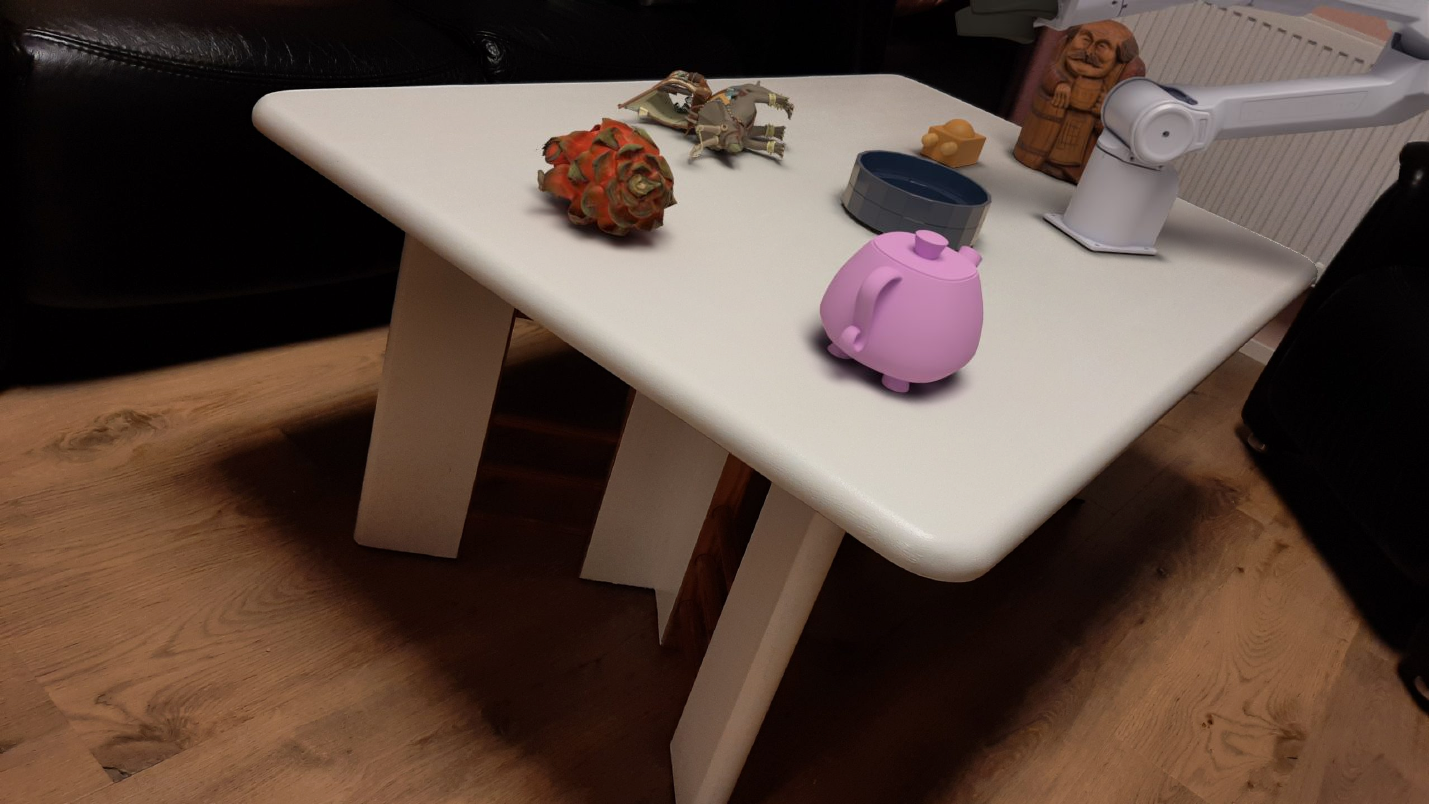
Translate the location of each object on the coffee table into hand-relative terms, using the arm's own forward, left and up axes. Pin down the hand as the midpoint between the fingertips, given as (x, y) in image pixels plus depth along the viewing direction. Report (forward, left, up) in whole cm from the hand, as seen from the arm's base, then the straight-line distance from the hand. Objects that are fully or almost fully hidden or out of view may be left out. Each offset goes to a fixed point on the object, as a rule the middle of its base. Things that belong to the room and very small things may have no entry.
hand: (963, 13), depth 96 cm
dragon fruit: (+37, +13, -18) cm, 43 cm away
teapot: (+22, +32, -18) cm, 43 cm away
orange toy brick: (-14, -12, -18) cm, 26 cm away
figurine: (+19, -10, -18) cm, 27 cm away
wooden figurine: (-30, -12, -18) cm, 37 cm away
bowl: (+5, +8, -18) cm, 20 cm away
